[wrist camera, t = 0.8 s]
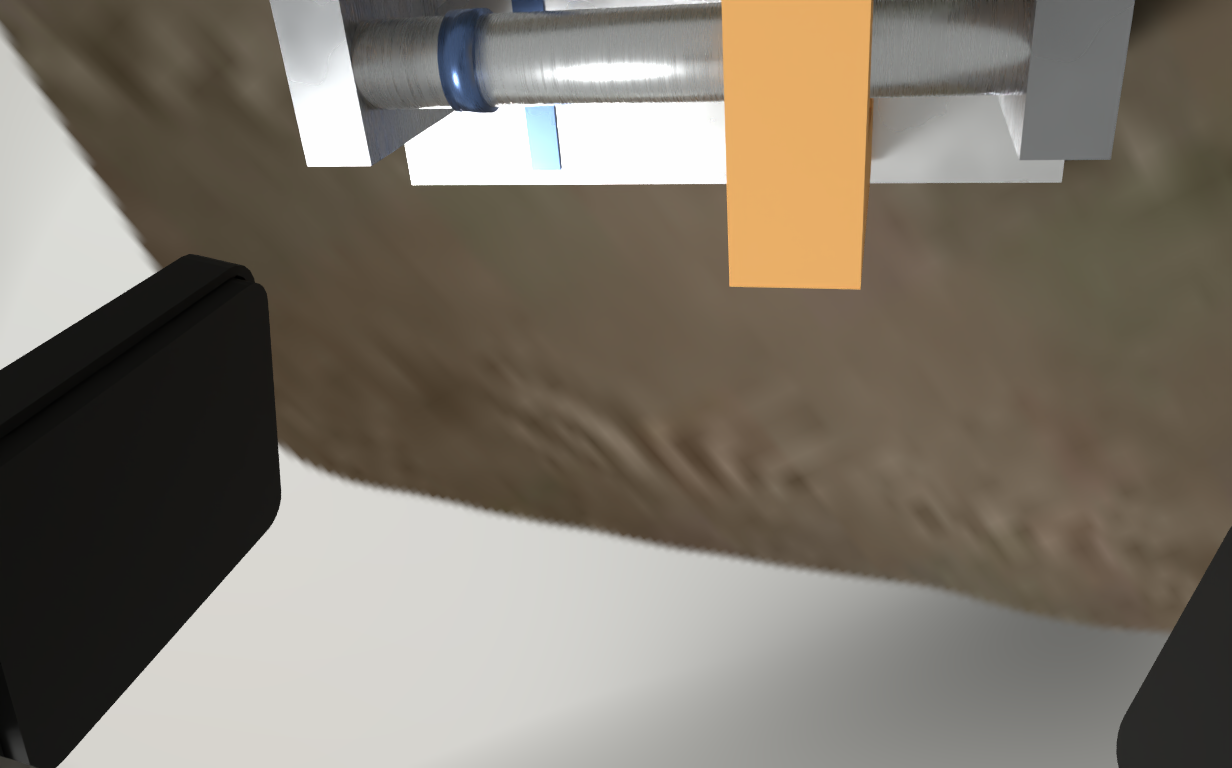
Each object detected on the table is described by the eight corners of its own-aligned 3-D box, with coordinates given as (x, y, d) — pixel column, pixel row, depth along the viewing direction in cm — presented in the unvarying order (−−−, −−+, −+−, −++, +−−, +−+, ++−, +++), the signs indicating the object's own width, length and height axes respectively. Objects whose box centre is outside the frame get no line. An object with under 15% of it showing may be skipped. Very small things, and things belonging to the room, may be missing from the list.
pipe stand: (1102, -206, 27) (1169, -213, 20) (1055, 167, 31) (1096, 262, 25) (376, -139, 32) (237, -128, 25) (429, 172, 37) (323, 251, 30)
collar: (884, -164, 26) (877, -156, 19) (870, 172, 31) (860, 288, 23) (768, -154, 27) (717, -143, 20) (771, 172, 31) (729, 286, 24)
